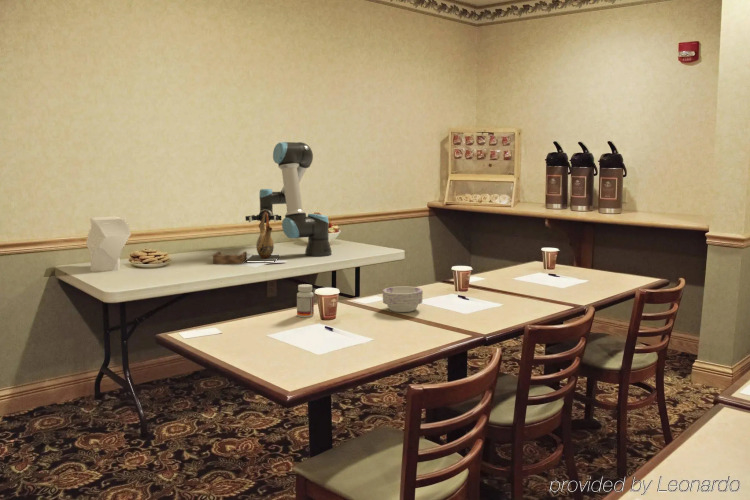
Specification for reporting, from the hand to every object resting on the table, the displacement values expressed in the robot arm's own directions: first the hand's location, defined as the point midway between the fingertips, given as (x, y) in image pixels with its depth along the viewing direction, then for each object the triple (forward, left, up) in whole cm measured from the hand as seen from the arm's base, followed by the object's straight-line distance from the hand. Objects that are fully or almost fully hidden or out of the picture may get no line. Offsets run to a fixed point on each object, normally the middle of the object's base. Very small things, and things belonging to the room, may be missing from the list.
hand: (262, 219), depth 379 cm
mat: (-2, +11, -21) cm, 24 cm away
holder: (+15, +18, -21) cm, 31 cm away
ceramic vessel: (-3, +12, -20) cm, 23 cm away
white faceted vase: (+72, +38, -21) cm, 84 cm away
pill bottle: (-37, +134, -21) cm, 141 cm away
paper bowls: (-73, +124, -21) cm, 146 cm away
